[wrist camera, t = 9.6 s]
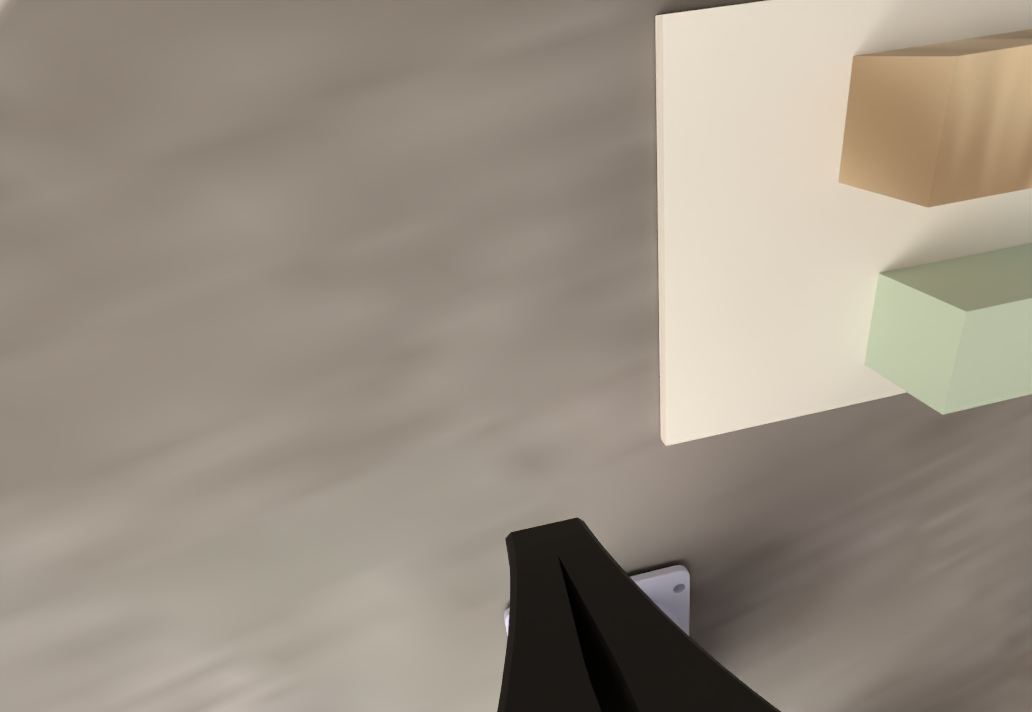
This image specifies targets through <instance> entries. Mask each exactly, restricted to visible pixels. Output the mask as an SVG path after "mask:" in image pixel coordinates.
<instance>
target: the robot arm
mask: <svg viewBox="0 0 1032 712" xmlns="http://www.w3.org/2000/svg"><path fill="white" fill-rule="evenodd" d="M506 546H507V552H508V559H509V565H510V607H509V608H508V609H507V610H506V611H505V613H504V620H505V626H506V631H507V636H508V640H507V649H506V656H505V664H504V671H503V679H502V686H501V693H500V699H499V705H498V711H497V712H781V711H779V710H778V709H777V708H775V707H774V706H773V705H771V704H770V703H769V702H767V701H766V700H765V699H763V698H762V697H761V696H759V695H758V694H757V693H756V692H754V691H753V690H752V689H750V688H749V687H748V686H747V685H746V684H744V683H743V682H742V681H741V680H739V679H738V678H737V677H736V676H734V675H733V674H732V673H731V672H729V671H728V670H727V669H726V668H725V667H723V666H722V665H721V664H720V663H719V662H718V661H716V660H715V659H714V658H713V657H712V656H711V655H710V654H708V653H707V652H706V651H705V650H704V649H703V648H702V647H700V646H699V645H698V644H697V643H696V642H695V641H694V640H693V639H692V638H691V637H690V636H689V610H690V574H689V572H688V570H687V569H686V568H685V567H684V566H682V565H675V566H671V567H667V568H663V569H659V570H655V571H651V572H647V573H643V574H639V575H635V576H631V577H629V576H628V574H627V573H626V572H625V571H624V570H623V569H622V568H621V567H620V565H619V564H618V563H617V562H616V561H615V560H614V559H613V557H612V556H611V555H610V554H609V553H608V552H607V550H606V549H605V548H604V547H603V546H602V544H601V543H600V542H599V541H598V539H597V538H596V537H595V536H594V534H593V533H592V532H591V530H590V529H589V528H588V526H587V525H586V524H585V522H584V521H582V520H581V519H579V518H573V519H569V520H564V521H560V522H555V523H551V524H546V525H542V526H537V527H533V528H528V529H524V530H519V531H515V532H511V533H510V534H509V535H508V536H507V538H506Z"/></svg>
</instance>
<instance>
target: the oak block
mask: <svg viewBox="0 0 1032 712" xmlns="http://www.w3.org/2000/svg"><path fill="white" fill-rule="evenodd" d="M838 183H842V184H845V185H849V186H852V187H856V188H860V189H863V190H867V191H870V192H874V193H878V194H881V195H885V196H888V197H892V198H895V199H899V200H903V201H906V202H910V203H913V204H917V205H921V206H924V207H934V206H939V205H944V204H950V203H955V202H960V201H966V200H971V199H976V198H982V197H987V196H992V195H998V194H1003V193H1008V192H1013V191H1019V190H1024V189H1029V188H1032V29H1028V30H1021V31H1015V32H1008V33H1002V34H995V35H988V36H982V37H975V38H969V39H962V40H956V41H949V42H943V43H936V44H930V45H923V46H917V47H910V48H904V49H897V50H891V51H884V52H877V53H871V54H864V55H858V56H853V61H852V69H851V78H850V86H849V95H848V104H847V112H846V121H845V129H844V138H843V146H842V155H841V163H840V172H839V180H838Z"/></svg>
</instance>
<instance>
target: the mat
mask: <svg viewBox="0 0 1032 712" xmlns="http://www.w3.org/2000/svg"><path fill="white" fill-rule="evenodd" d="M655 27H656V106H657V185H658V264H659V343H660V422H661V440H662V441H663V442H664V444H665V445H666V446H668V445H673V444H677V443H682V442H686V441H691V440H695V439H700V438H704V437H709V436H713V435H718V434H722V433H727V432H731V431H736V430H740V429H745V428H749V427H754V426H758V425H763V424H767V423H772V422H776V421H781V420H785V419H790V418H794V417H799V416H803V415H808V414H812V413H817V412H821V411H826V410H830V409H835V408H839V407H844V406H848V405H853V404H857V403H862V402H866V401H871V400H875V399H880V398H884V397H889V396H893V395H898V394H902V393H907V392H906V391H905V390H903V389H901V388H900V387H898V386H897V385H895V384H894V383H892V382H891V381H889V380H887V379H886V378H884V377H883V376H881V375H880V374H878V373H876V372H875V371H873V370H872V369H870V368H869V367H867V366H866V365H864V363H865V357H866V350H867V344H868V338H869V331H870V325H871V319H872V313H873V306H874V300H875V294H876V287H877V281H878V275H879V273H882V272H887V271H892V270H897V269H903V268H908V267H913V266H918V265H923V264H928V263H933V262H938V261H943V260H948V259H953V258H958V257H963V256H968V255H973V254H978V253H983V252H988V251H993V250H998V249H1003V248H1008V247H1013V246H1018V245H1023V244H1028V243H1032V188H1029V189H1024V190H1019V191H1013V192H1008V193H1003V194H998V195H992V196H987V197H982V198H976V199H971V200H966V201H960V202H955V203H950V204H944V205H939V206H934V207H924V206H921V205H917V204H913V203H910V202H906V201H903V200H899V199H895V198H892V197H888V196H885V195H881V194H878V193H874V192H870V191H867V190H863V189H860V188H856V187H852V186H849V185H845V184H842V183H838V180H839V172H840V163H841V155H842V146H843V138H844V129H845V121H846V112H847V104H848V95H849V86H850V78H851V69H852V61H853V56H858V55H864V54H871V53H877V52H884V51H891V50H897V49H904V48H910V47H917V46H923V45H930V44H936V43H943V42H949V41H956V40H962V39H969V38H975V37H982V36H988V35H995V34H1002V33H1008V32H1015V31H1021V30H1028V29H1032V0H768V1H760V2H753V3H745V4H738V5H730V6H723V7H715V8H708V9H701V10H693V11H686V12H678V13H671V14H663V15H656V16H655Z"/></svg>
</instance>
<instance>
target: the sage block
mask: <svg viewBox="0 0 1032 712" xmlns="http://www.w3.org/2000/svg"><path fill="white" fill-rule="evenodd" d="M864 365H866V366H867V367H869V368H870V369H872V370H873V371H875V372H876V373H878V374H880V375H881V376H883V377H884V378H886V379H887V380H889V381H891V382H892V383H894V384H895V385H897V386H898V387H900V388H901V389H903V390H905V391H906V392H908V393H909V394H911V395H912V396H914V397H915V398H917V399H919V400H920V401H922V402H923V403H925V404H926V405H928V406H929V407H931V408H933V409H934V410H936V411H937V412H939V413H940V414H942V415H944V414H948V413H952V412H957V411H961V410H965V409H970V408H974V407H978V406H982V405H987V404H991V403H995V402H1000V401H1004V400H1008V399H1013V398H1017V397H1021V396H1026V395H1030V394H1032V243H1028V244H1023V245H1018V246H1013V247H1008V248H1003V249H998V250H993V251H988V252H983V253H978V254H973V255H968V256H963V257H958V258H953V259H948V260H943V261H938V262H933V263H928V264H923V265H918V266H913V267H908V268H903V269H897V270H892V271H887V272H882V273H879V275H878V281H877V287H876V294H875V300H874V306H873V313H872V319H871V325H870V331H869V338H868V344H867V350H866V357H865V363H864Z"/></svg>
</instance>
